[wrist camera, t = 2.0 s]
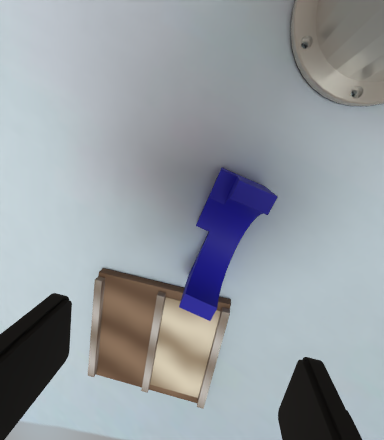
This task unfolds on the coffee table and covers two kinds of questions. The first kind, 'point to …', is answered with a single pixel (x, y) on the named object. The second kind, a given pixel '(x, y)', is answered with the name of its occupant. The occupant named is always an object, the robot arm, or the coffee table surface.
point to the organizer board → (153, 337)
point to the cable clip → (222, 237)
